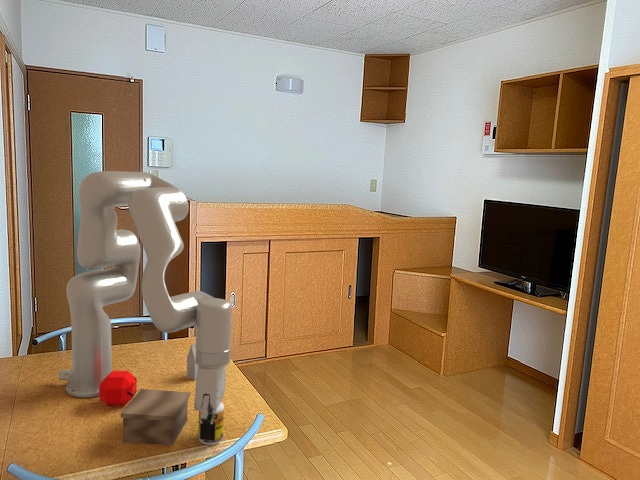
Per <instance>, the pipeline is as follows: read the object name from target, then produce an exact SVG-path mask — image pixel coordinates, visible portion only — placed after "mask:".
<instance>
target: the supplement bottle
mask: <svg viewBox="0 0 640 480" xmlns="http://www.w3.org/2000/svg"><path fill="white" fill-rule="evenodd" d="M209 408H210V409H213V407H212V406H209ZM201 410H202V406H201V408H200V409H199V410H198V427H197V429H198V432H197V434H198V435H197V439H198V441H199V443H201V444H203V445H205V446H206V445H209V446H211V445H216V444H218V443H220V442H221V441H222V440H223V438H224V426H225V425H224V423H225V421H224V420H225V404H224V403H223V401H222V402H220V405H219V407H218V409H217V410H216V411H215V417H214V422H215V439H214V440H201V439H200V420H201V418H200V416H201ZM211 413H212V412H208V416H210V417H211Z"/></svg>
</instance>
